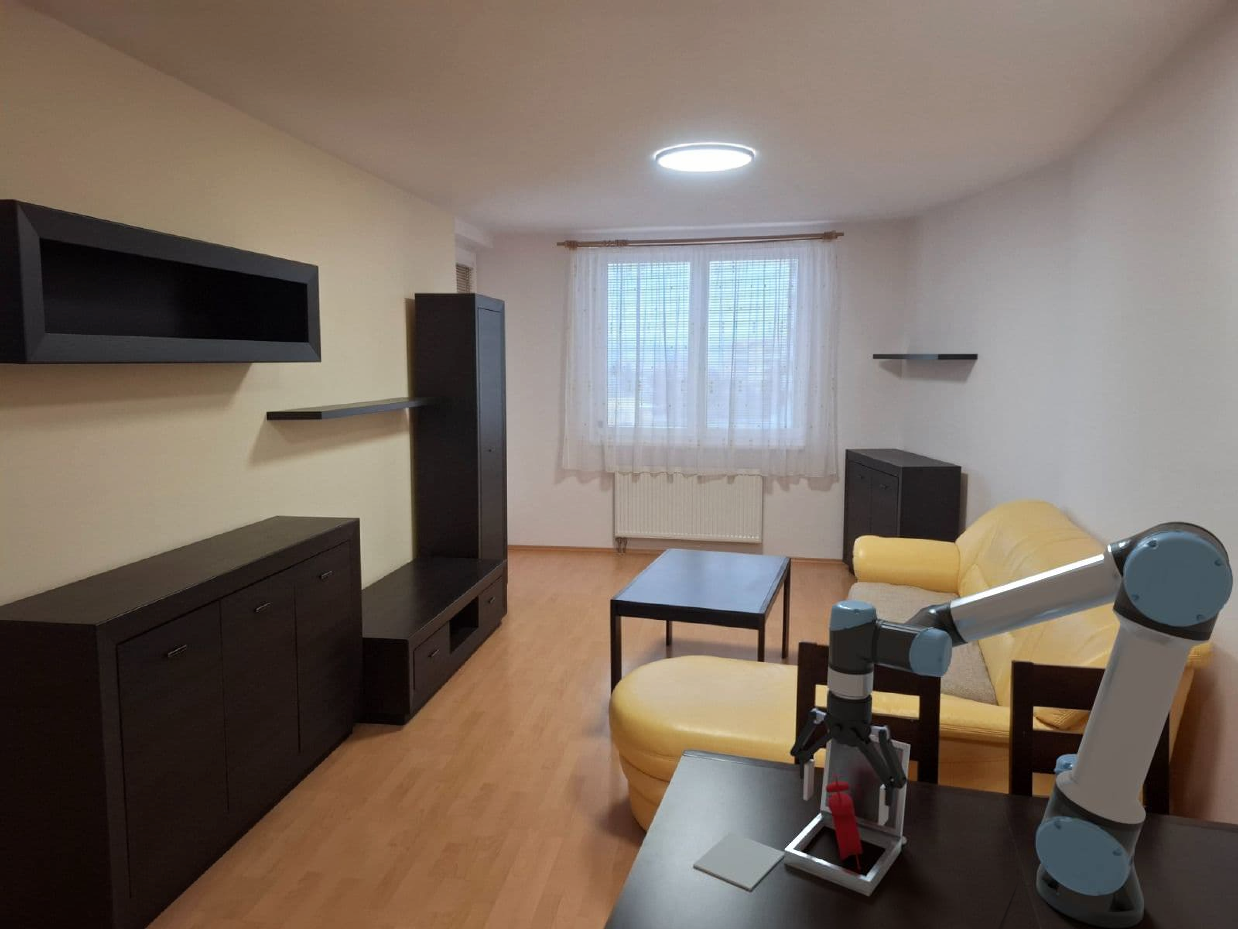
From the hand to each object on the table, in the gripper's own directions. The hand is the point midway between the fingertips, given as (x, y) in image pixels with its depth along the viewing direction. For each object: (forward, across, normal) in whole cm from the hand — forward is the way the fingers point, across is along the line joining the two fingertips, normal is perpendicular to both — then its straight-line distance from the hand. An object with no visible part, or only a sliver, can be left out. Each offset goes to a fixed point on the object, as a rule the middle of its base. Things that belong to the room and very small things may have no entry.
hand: (844, 809), depth 142 cm
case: (+9, 0, 0) cm, 9 cm away
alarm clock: (+9, 0, 0) cm, 9 cm away
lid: (+6, 0, -8) cm, 9 cm away
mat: (+9, +14, +12) cm, 20 cm away
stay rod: (+9, -6, -11) cm, 15 cm away
